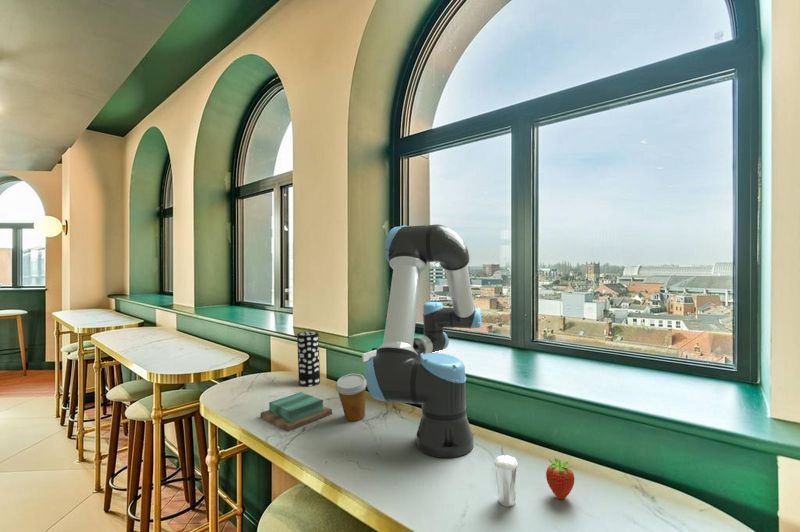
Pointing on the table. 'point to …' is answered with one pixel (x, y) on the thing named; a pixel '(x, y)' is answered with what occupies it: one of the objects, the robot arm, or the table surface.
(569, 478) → the fruit
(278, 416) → the display stand
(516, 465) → the milkshake
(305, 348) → the white-spotted black cylinder
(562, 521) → the table surface
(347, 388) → the disposable coffee cup
